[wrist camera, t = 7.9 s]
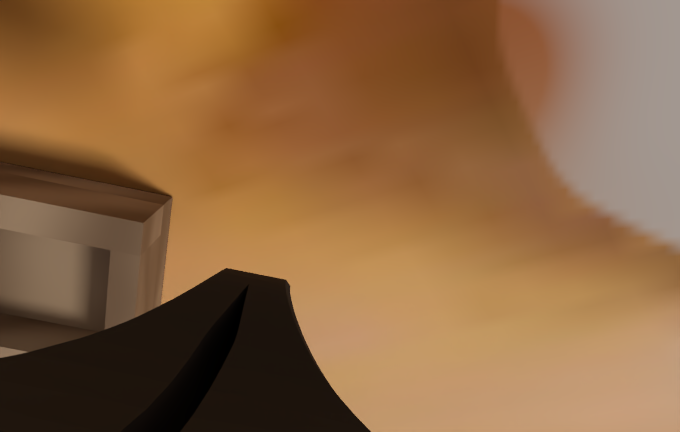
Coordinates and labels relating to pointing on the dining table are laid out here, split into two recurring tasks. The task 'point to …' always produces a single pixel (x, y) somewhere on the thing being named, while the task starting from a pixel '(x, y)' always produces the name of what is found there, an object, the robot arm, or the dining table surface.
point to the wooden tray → (75, 256)
